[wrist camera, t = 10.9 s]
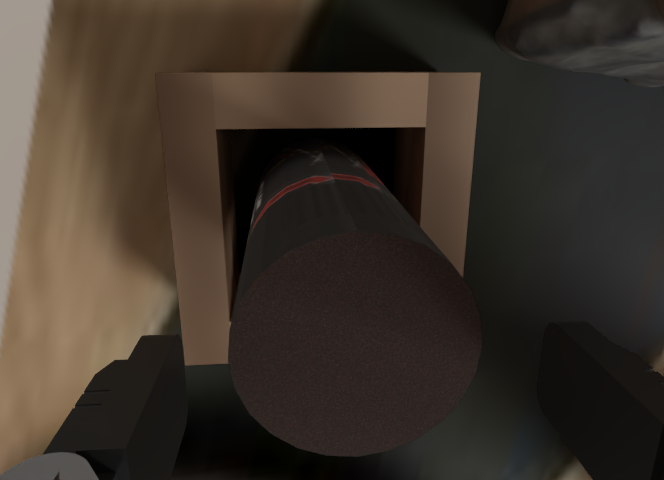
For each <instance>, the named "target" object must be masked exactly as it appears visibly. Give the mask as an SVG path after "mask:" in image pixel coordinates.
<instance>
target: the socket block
mask: <svg viewBox="0 0 664 480" xmlns="http://www.w3.org/2000/svg"><path fill="white" fill-rule="evenodd" d="M480 75H481V73H472V72H168V73H155V77H156V87H157V96H158V106H159V116H160V125H161V135H162V145H163V154H164V164H165V174H166V184H167V193H168V203H169V213H170V222H171V232H172V242H173V251H174V261H175V271H176V280H177V290H178V300H179V309H180V319H181V329H182V338H183V348H184V358H185V365H205V364H225V363H228V347H229V330H230V325H231V320H232V315H233V310H234V305H235V300H236V295H237V290H238V285H239V280H240V275H241V273H239V258H238V242H237V225H236V209H235V193H234V176H233V160H232V144H231V129H289V128H385V127H396V128H395V154H394V180H393V196H394V197H395V198H396V199H397V200H398V202H399V203H400V204H401V205H402V206H403V207H404V209H405V210H406V211H407V212H408V213H409V214H410V216H411V217H412V218H413V219H414V220H415V221H416V223H417V224H418V225H419V226H420V227H421V228H422V230H423V231H424V232H425V233H426V234H427V235H428V237H429V238H430V239H431V240H432V241H433V242H434V244H435V245H436V246H437V247H438V248H439V249H440V250H441V252H442V253H443V254H444V255H445V256H446V257H447V259H448V260H449V261H450V262H451V263H452V265H453V266H454V267H455V268H456V270H457V271H458V272H459V274H460V275H461V276H462V277H463V271H464V259H465V248H466V236H467V225H468V213H469V202H470V190H471V179H472V167H473V155H474V144H475V132H476V121H477V109H478V98H479V86H480Z"/></svg>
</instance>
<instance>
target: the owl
mask: <svg viewBox="0 0 664 480" xmlns="http://www.w3.org/2000/svg"><path fill="white" fill-rule="evenodd" d="M495 41H496V43H497V44H498V46H499V47H500V48H501V50H503V51H504V52H505V53H507V54H509V55H511V56H513V57H515V58H517V59H521V60H527V61H531V62H535V63H538V64H541V65H544V66H548V67H552V68H555V69H561V70H568V71H571V72H588V73H596V74H601V75H605V76H614V77H621V78H624V79H625V80H626V81H627V82H628V83H630V84H632V85H636V86H640V87H658V86H664V0H508V3H507V6H506V9H505V12H504V15H503V18H502V21H501V24H500V26H499V28H498V29H497V31H496V33H495Z"/></svg>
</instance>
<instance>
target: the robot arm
mask: <svg viewBox="0 0 664 480" xmlns="http://www.w3.org/2000/svg"><path fill="white" fill-rule="evenodd" d="M537 394H538V400H539V404H540V407H541V409H542V411H543V413H544V414H545V416H546V417H547V418H548V420H549V421H550V422H551V424H552V425H553V427H554V428H555V429H556V431H557V432H558V433H559V435H560V436H561V437H562V439H563V440H564V441H565V443H566V444H567V445H568V447H569V448H570V449H571V451H572V452H573V453H574V455H575V456H576V457H577V459H578V460H579V461H580V463H581V464H582V465H583V467H584V468H585V469H586V471H587V472H588V474H589V475H590V476H591V478H592V479H593V480H664V377H663V376H662V375H661V374H660V373H658V372H654V369H653V368H652V367H651V366H650V365H648V364H647V363H646V362H645V361H644V360H642V359H641V358H640V357H639V356H637V355H636V354H634V353H632V352H630V351H628V350H626V349H624V348H622V347H620V346H618V345H616V344H614V343H612V342H610V341H609V340H608V339H607V338H606V337H604V336H603V335H602V334H601V333H600V332H598V331H597V330H596V329H595V328H594V327H592V326H591V325H590V324H589V323H587V322H559V323H550V324H549V325H548V326H547V327H546V330H545V333H544V340H543V347H542V354H541V361H540V368H539V375H538V382H537ZM186 421H187V390H186V380H185V370H184V359H183V349H182V342H181V338H180V336H179V335H178V334H177V335H147V336H142V337H141V338H140V339H139V341H138V343H137V345H136V346H135V348H134V350H133V352H132V353H131V355H130V357H129V358H128V360H114V361H113V362H112V363H110V364H109V365H107V366H106V367H105V368H103V369H102V370H101V371H99V372H98V373H97V374H95V376H94V377H93V379H92V380H91V382H90V383H89V385H88V386H87V388H86V389H85V391H84V394H82V395H81V397H80V398H79V400H78V401H77V403H76V405H75V408H73V409H72V411H71V412H70V414H69V415H68V417H67V418H66V420H65V421H64V423H63V424H62V426H61V427H60V429H59V430H58V432H57V433H56V435H55V436H54V438H53V440H52V441H51V443H50V444H49V446H48V447H47V449H46V450H45V452H44V453H43V455H40V456H36V457H33V458H31V459H28V460H26V461H23V462H21V463H19V464H17V465H15V466H14V467H12V468H10V469H9V470H7V471H6V472H4V473H3V474H2V475H0V480H170V477H171V474H172V470H173V467H174V464H175V461H176V457H177V454H178V451H179V447H180V444H181V441H182V437H183V434H184V431H185V427H186Z"/></svg>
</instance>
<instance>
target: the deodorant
mask: <svg viewBox="0 0 664 480" xmlns="http://www.w3.org/2000/svg"><path fill="white" fill-rule="evenodd" d="M482 345H483V343H482V326H481V314H480V312H479V309H478V306H477V304H476V301H475V298H474V296H473V293H472V290H471V288H470V286H469V285H468V284H467V283H466V281H465V280H464V279H463V277H462V276H461V275H460V274H459V272H458V271H457V270H456V268H455V267H454V266H453V265H452V263H451V262H450V261H449V260H448V259H447V257H446V256H445V255H444V254H443V253H442V252H441V250H440V249H439V248H438V247H437V246H436V245H435V244H434V242H433V241H432V240H431V239H430V238H429V237H428V235H427V234H426V233H425V232H424V231H423V230H422V228H421V227H420V226H419V225H418V224H417V223H416V221H415V220H414V219H413V218H412V217H411V216H410V214H409V213H408V212H407V211H406V210H405V209H404V207H403V206H402V205H401V204H400V203H399V202H398V200H397V199H396V198H395V197H394V196H393V195H392V193H391V192H390V191H389V190H388V189H387V188H386V186H385V185H384V184H383V183H382V182H381V181H380V179H379V178H378V177H377V176H376V175H375V174H374V172H373V171H372V170H371V169H370V168H369V167H368V165H367V164H366V163H365V162H364V161H363V160H362V158H361V157H360V156H359V155H358V154H357V153H356V152H354V151H353V150H351V149H350V148H349V147H347V146H346V145H344V144H341V143H339V142H336V141H333V140H331V139H321V138H311V139H305V140H299V141H297V142H295V143H293V144H290V145H288V146H286V147H284V148H283V149H282V150H281V151H279V152H278V153H277V154H276V155H275V156H273V157H272V159H271V160H270V162H269V163H268V164H267V166H266V167H265V169H264V170H263V173H262V176H261V179H260V182H259V185H258V190H257V195H256V200H255V205H254V210H253V215H252V220H251V225H250V230H249V235H248V240H247V245H246V250H245V255H244V260H243V265H242V270H241V275H240V280H239V285H238V290H237V295H236V300H235V305H234V310H233V315H232V320H231V325H230V330H229V347H228V364H229V368H230V372H231V376H232V380H233V384H234V388H235V390H236V392H237V394H238V395H239V397H240V399H241V400H242V402H243V404H244V405H245V407H246V409H247V410H248V412H249V413H250V415H251V416H252V417H253V418H255V419H256V420H257V421H258V422H259V423H260V424H261V425H262V426H263V427H264V428H265V429H266V430H268V431H269V432H270V433H271V434H272V435H274V436H276V437H278V438H280V439H282V440H284V441H285V442H287V443H289V444H291V445H293V446H295V447H297V448H299V449H303V450H307V451H311V452H315V453H319V454H323V455H327V456H363V455H368V454H374V453H379V452H384V451H389V450H391V449H394V448H396V447H398V446H401V445H403V444H406V443H408V442H410V441H413V440H415V439H417V438H419V437H420V436H422V435H423V434H424V433H426V432H427V431H429V430H430V429H431V428H433V427H434V426H436V425H437V424H439V423H440V422H441V421H442V420H443V419H444V418H445V417H446V416H447V415H448V414H449V413H450V412H451V411H452V409H453V408H454V407H455V406H456V405H457V404H458V403H459V402H460V401H461V400H462V398H463V396H464V394H465V393H466V391H467V389H468V387H469V385H470V383H471V381H472V379H473V378H474V376H475V374H476V371H477V367H478V362H479V358H480V354H481V349H482Z"/></svg>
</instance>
